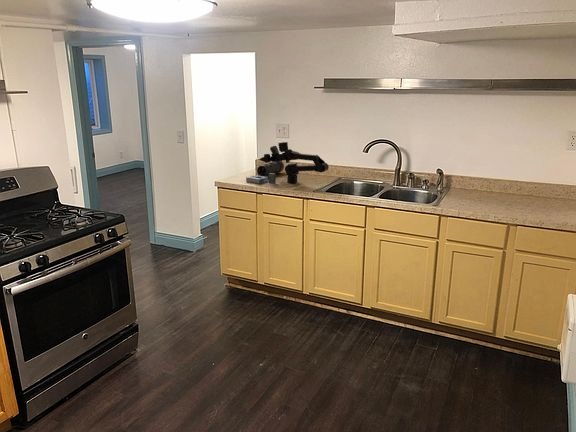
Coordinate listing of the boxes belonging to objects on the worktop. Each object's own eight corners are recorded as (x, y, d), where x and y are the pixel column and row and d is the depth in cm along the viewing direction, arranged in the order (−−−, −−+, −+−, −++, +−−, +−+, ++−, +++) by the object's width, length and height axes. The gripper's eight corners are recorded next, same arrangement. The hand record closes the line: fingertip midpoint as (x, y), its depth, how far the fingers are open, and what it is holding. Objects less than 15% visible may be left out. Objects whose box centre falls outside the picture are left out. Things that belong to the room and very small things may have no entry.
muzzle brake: (256, 178, 361) (256, 164, 358) (275, 172, 384) (275, 159, 382) (267, 179, 356) (267, 165, 354) (285, 173, 380) (285, 160, 377)
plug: (275, 183, 340) (275, 173, 338) (273, 183, 338) (273, 174, 336) (270, 182, 342) (270, 172, 340) (268, 183, 340) (268, 173, 338)
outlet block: (267, 182, 345) (267, 177, 344) (259, 184, 337) (259, 179, 336) (255, 180, 352) (254, 175, 351) (246, 182, 344) (246, 177, 343)
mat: (280, 183, 341) (280, 182, 341) (273, 185, 334) (273, 185, 334) (270, 182, 346) (270, 181, 346) (263, 184, 339) (263, 183, 339)
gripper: (286, 145, 349) (269, 147, 358) (272, 145, 334) (254, 148, 342) (288, 160, 351) (270, 162, 359) (274, 161, 335) (256, 163, 343)
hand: (263, 159), depth 351 cm, fingers open, 9 cm apart
